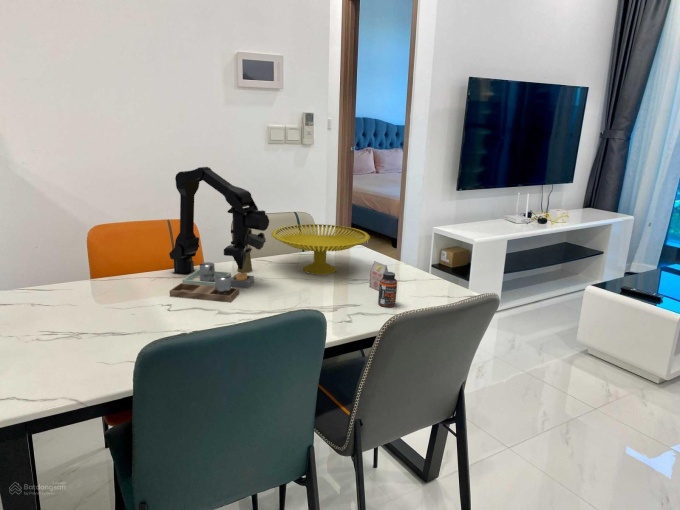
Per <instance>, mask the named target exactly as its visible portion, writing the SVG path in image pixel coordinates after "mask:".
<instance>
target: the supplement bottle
mask: <svg viewBox="0 0 680 510" xmlns="http://www.w3.org/2000/svg"><path fill="white" fill-rule="evenodd" d="M397 290H398V280H397V279H396V273H395V272H393V271H388V272H384V273H383V278H381V279H380V284H379V291H378V299H377V303H378V305H379V306H380V307H384V308H392V307H395V306H396V303H397V302H396V300H397Z"/></svg>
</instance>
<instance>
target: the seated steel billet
mask: <svg viewBox="0 0 680 510" xmlns="http://www.w3.org/2000/svg"><path fill="white" fill-rule="evenodd" d="M231 278H232V275H231V276H229V275H218V276H216V277H215V294H216V295H227V296H230V295H231V288H232V287H231Z"/></svg>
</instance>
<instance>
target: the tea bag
mask: <svg viewBox="0 0 680 510" xmlns="http://www.w3.org/2000/svg"><path fill="white" fill-rule="evenodd" d="M384 272H389V270H388V265H387V264H384V263H382V262H379V261H377V260H374V261H373V264H372V267H371V270H370V273H369V285H368V288H370V289H373V290H375V291H377V292H379V284H380V279H381V278H383V273H384Z"/></svg>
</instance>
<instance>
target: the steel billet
mask: <svg viewBox="0 0 680 510" xmlns="http://www.w3.org/2000/svg"><path fill="white" fill-rule="evenodd" d="M199 270H200V275H199V281H204V282H215V271H216V270H215V263H214V262H201V263H200V264H199Z"/></svg>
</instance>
